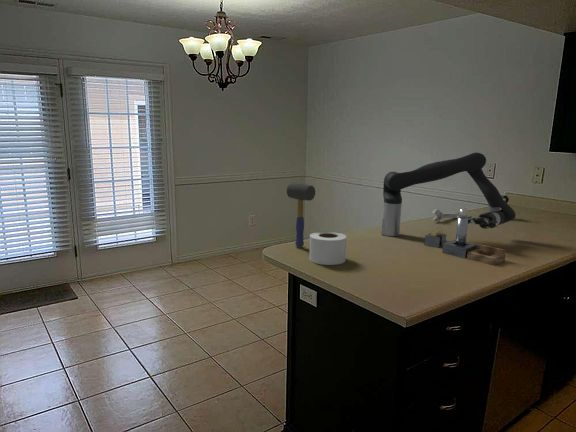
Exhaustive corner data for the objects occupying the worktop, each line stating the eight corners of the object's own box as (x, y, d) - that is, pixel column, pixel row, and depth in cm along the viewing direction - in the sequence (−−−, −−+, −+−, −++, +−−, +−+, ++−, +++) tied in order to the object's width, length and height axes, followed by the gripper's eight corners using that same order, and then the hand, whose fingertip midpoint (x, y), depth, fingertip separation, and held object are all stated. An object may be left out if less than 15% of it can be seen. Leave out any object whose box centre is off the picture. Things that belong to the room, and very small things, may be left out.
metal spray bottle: (455, 249, 197) (458, 210, 194) (454, 246, 201) (458, 208, 198) (465, 249, 196) (469, 210, 192) (464, 247, 200) (468, 208, 197)
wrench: (458, 222, 280) (433, 222, 260) (455, 221, 281) (430, 222, 262) (460, 210, 279) (435, 209, 259) (457, 209, 280) (432, 209, 261)
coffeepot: (478, 217, 283) (481, 189, 279) (486, 215, 288) (489, 188, 285) (502, 221, 271) (505, 192, 267) (509, 219, 276) (513, 191, 273)
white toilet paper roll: (308, 254, 194) (309, 230, 192) (343, 255, 194) (344, 231, 191) (309, 265, 179) (310, 239, 177) (347, 266, 178) (348, 240, 176)
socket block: (442, 252, 200) (443, 243, 199) (454, 248, 207) (455, 239, 206) (465, 258, 192) (466, 248, 191) (477, 254, 199) (478, 244, 198)
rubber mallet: (284, 246, 206) (285, 182, 200) (294, 243, 211) (295, 181, 205) (304, 251, 198) (306, 185, 192) (314, 248, 203) (317, 184, 197)
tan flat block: (439, 240, 221) (440, 226, 219) (444, 241, 219) (446, 227, 217) (429, 245, 212) (430, 230, 210) (435, 246, 210) (436, 231, 208)
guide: (431, 241, 219) (432, 232, 218) (445, 244, 215) (446, 234, 214) (424, 245, 212) (425, 235, 211) (438, 247, 208) (439, 237, 207)
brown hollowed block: (466, 258, 192) (467, 247, 191) (477, 254, 198) (478, 244, 197) (493, 265, 183) (495, 254, 182) (504, 261, 189) (505, 250, 188)
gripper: (475, 210, 218) (459, 213, 207) (504, 214, 207) (488, 218, 197) (474, 224, 219) (457, 229, 209) (502, 230, 209) (487, 235, 198)
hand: (472, 224), depth 203 cm, fingers open, 8 cm apart
